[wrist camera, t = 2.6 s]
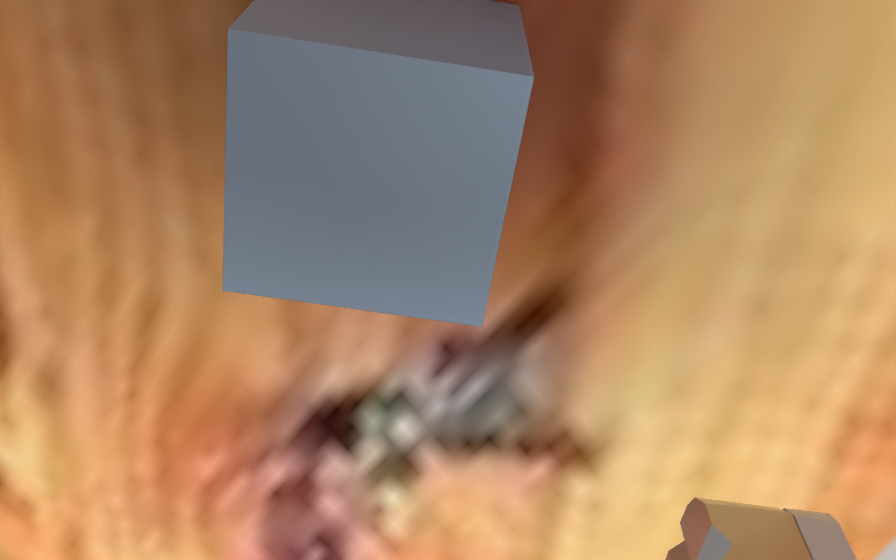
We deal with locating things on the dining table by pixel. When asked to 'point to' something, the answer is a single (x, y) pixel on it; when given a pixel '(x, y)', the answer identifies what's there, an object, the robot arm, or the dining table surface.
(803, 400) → the dining table surface
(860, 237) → the dining table surface
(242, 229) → the blue cube
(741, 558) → the robot arm
